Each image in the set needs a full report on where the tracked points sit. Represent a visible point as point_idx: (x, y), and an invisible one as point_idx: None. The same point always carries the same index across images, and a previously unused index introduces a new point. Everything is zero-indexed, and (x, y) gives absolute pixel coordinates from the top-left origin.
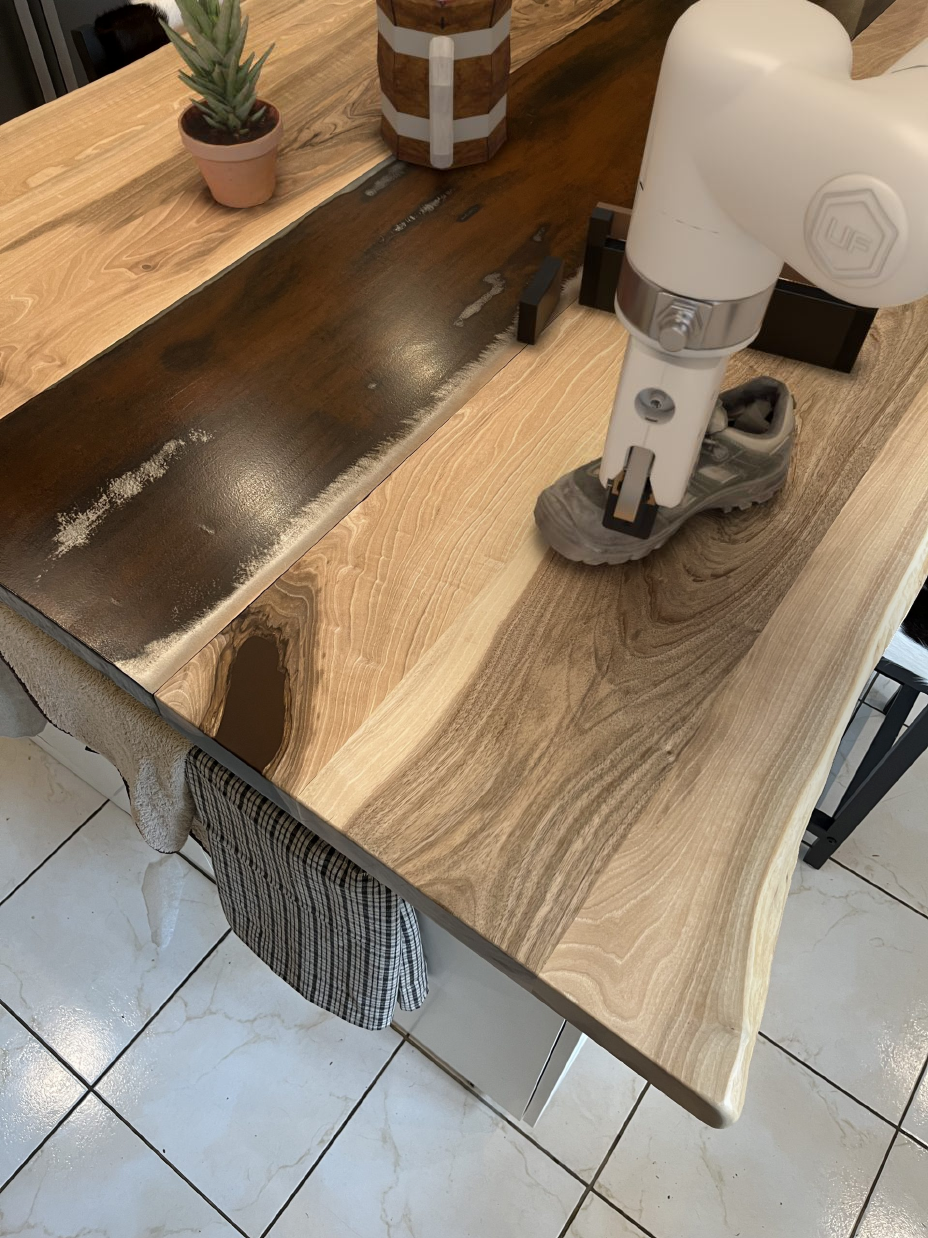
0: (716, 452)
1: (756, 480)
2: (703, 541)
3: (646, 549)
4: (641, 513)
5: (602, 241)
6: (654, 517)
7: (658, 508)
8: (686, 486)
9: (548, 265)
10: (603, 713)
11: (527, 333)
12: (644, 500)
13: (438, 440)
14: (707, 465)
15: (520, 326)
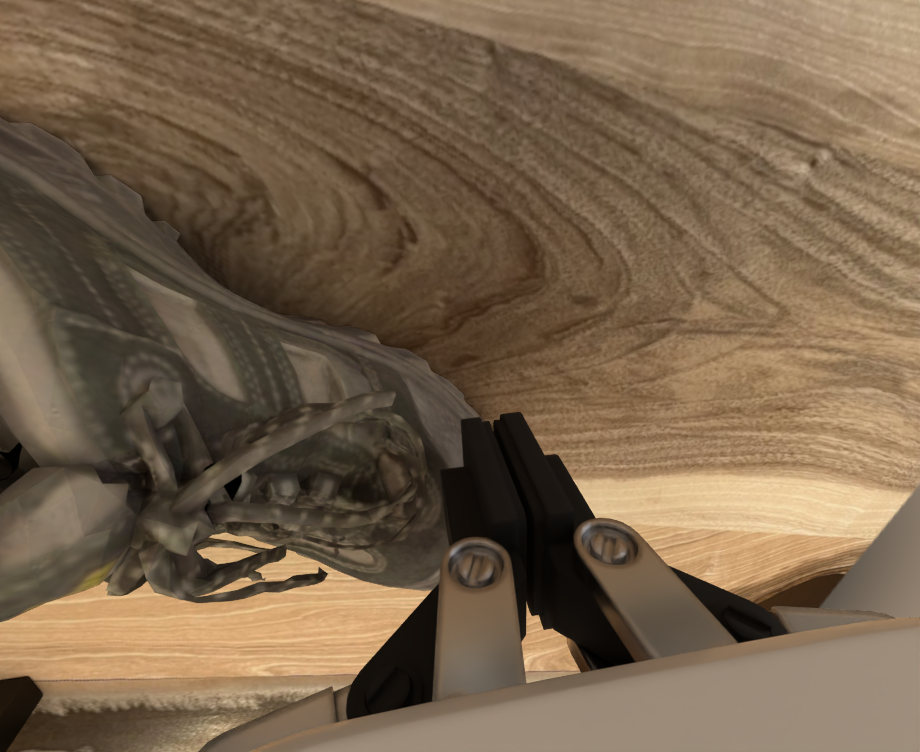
0: (173, 408)
1: (50, 192)
2: (296, 253)
3: (408, 359)
4: (587, 507)
5: None
6: (543, 458)
7: (533, 472)
8: (880, 634)
9: None
10: (748, 295)
11: (19, 707)
12: (781, 627)
13: (337, 666)
14: (212, 389)
15: (17, 728)
